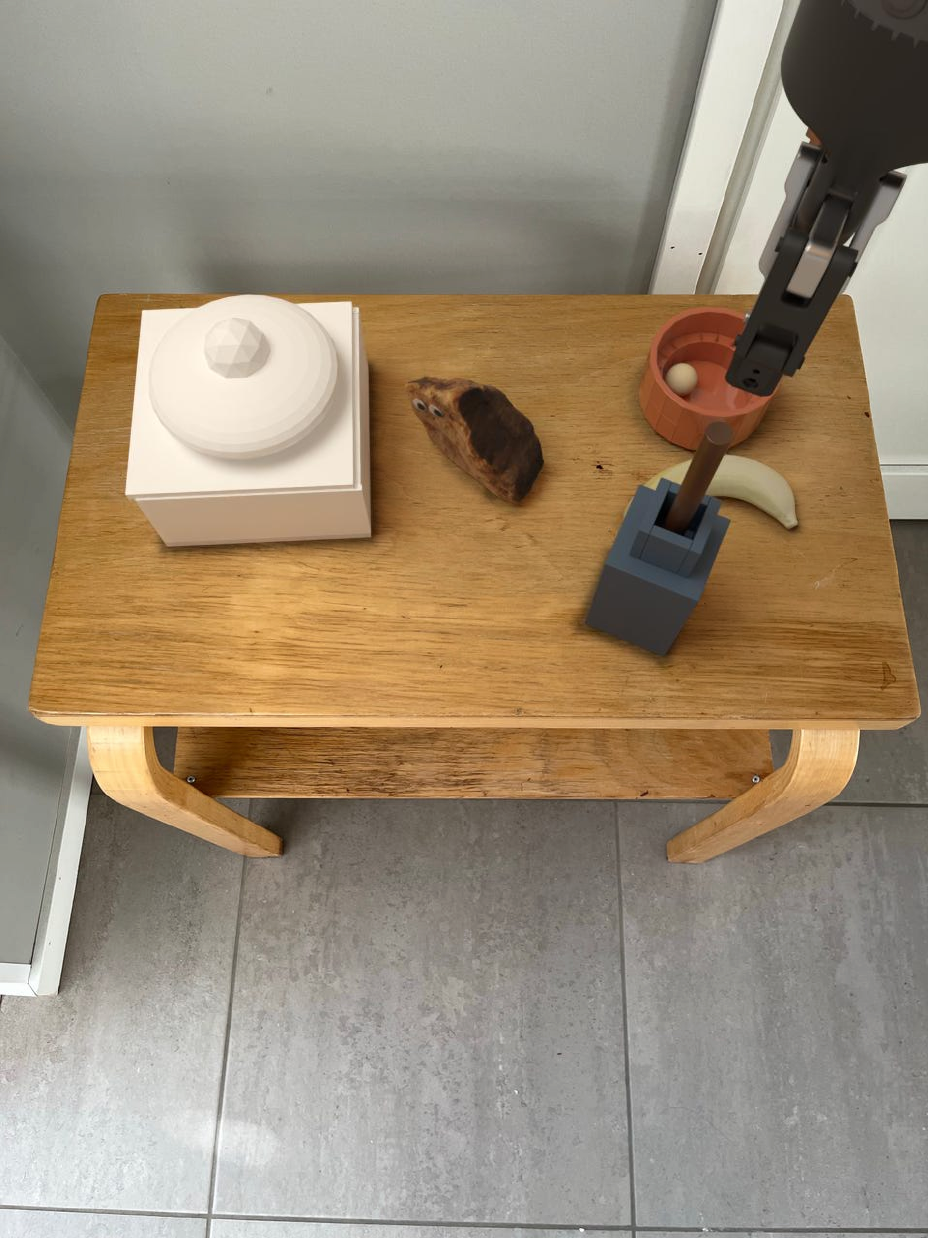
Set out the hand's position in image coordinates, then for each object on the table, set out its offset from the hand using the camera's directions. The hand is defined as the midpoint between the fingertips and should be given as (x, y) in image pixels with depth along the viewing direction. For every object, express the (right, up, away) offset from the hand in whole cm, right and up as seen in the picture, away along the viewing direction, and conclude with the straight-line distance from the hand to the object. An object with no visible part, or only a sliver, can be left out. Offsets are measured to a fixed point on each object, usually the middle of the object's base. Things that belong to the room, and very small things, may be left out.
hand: (777, 313), depth 42 cm
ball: (+5, +7, +40) cm, 40 cm away
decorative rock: (-13, 0, +39) cm, 41 cm away
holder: (0, -13, +34) cm, 36 cm away
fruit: (+6, -5, +37) cm, 38 cm away
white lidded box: (-32, +1, +39) cm, 51 cm away
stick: (0, -9, +23) cm, 24 cm away
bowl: (+7, +6, +41) cm, 42 cm away
